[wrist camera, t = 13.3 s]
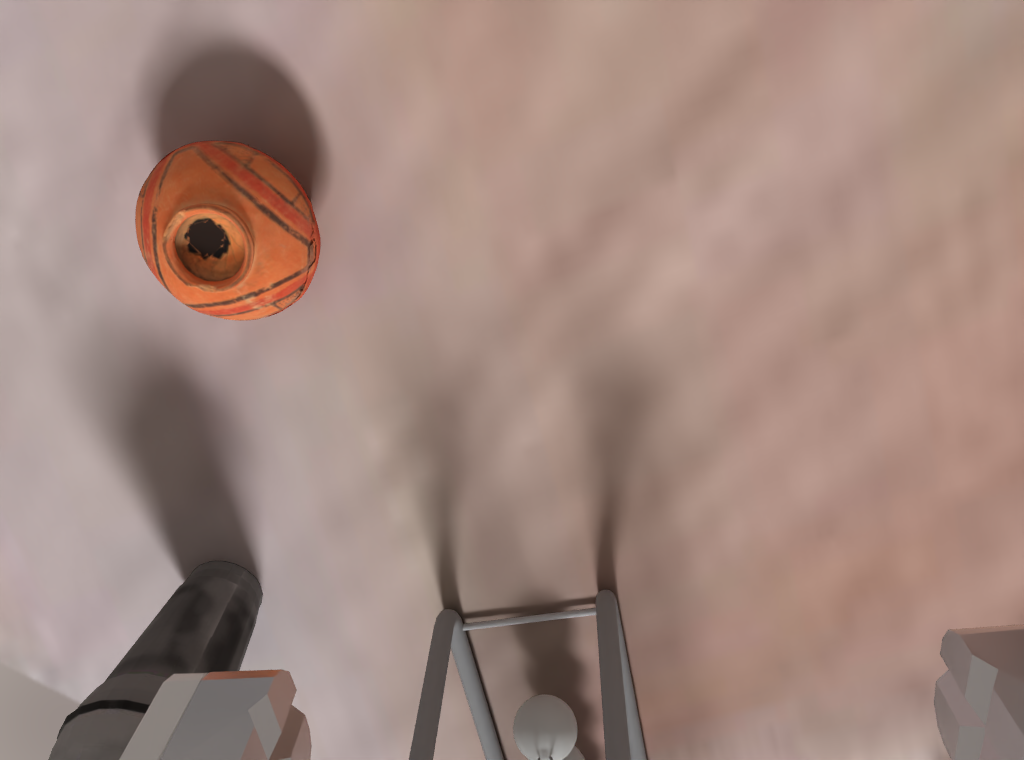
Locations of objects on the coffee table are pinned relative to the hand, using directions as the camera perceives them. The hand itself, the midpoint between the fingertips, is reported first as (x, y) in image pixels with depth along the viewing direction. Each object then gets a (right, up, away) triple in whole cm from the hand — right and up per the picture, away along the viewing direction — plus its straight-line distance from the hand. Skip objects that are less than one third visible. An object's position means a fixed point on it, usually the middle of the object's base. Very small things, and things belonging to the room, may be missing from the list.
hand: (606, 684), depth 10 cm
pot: (-13, +12, +28) cm, 33 cm away
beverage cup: (-19, -9, +38) cm, 43 cm away
